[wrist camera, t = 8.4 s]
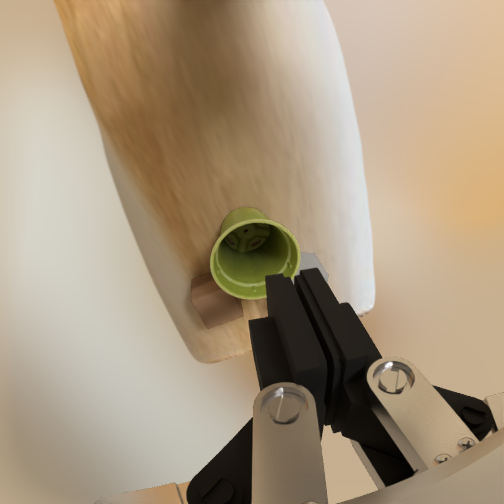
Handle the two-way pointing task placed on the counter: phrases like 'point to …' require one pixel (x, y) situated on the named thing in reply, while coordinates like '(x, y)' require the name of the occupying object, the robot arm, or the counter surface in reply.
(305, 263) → the slate block
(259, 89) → the counter surface
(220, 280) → the plant pot
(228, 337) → the counter surface
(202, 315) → the walnut block
